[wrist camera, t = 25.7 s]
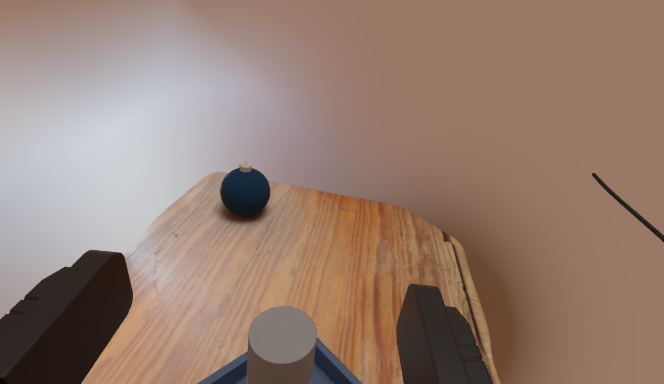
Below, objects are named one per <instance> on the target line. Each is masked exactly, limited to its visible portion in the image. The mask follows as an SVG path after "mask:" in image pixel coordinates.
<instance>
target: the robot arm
mask: <svg viewBox="0 0 664 384" xmlns="http://www.w3.org/2000/svg"><path fill="white" fill-rule="evenodd" d="M592 176H593V177H594V178H595V179H596V180H597V181H598V183H599V184H600V185H601V186H602V187H603V188H604V189H605V190H606V191H607V192H608V193H609V194H610V195H611V196H613V197H614V198H615V199H616V200H617V201H618V202H619V203H620V204H621V205H622V206H624V207H625V208H626V209H627V210H628V211H629V212H630V213H631V214H633V215H634V216H635V217H636V218H637V219H638V220H639V221H641V222H642V223H643V224H644V225H645V226H646V227H647V228H649V229H650V230H651V231H652V232H653V233H654V234H655V235H656V236H657V237H659V238H660V239H661V240H662V241H663V242H664V235H663V234H661V233H660V232H659V231H658V230H656V228H654V227H653V226H652V225H651V224H650V223H649V222H647V221H646V220H645V219H644V218H643V217H642V216H640V215H639V214H638V213H637V212H636V211H634V210H633V209H632V208H631V207H630V206H629V205H628V204H626V203H625V202H624V201H623V200H622V199H621V198H620V197H619V196H617V195H616V194H615V193H614V192H613V191H612V190H611V189H610V188H609V187H608V186H607V185H605V183H604V182H603V181H602V180H601V179H600V178H599V177H598V176H597V175H596V174H595V173H592ZM132 300H133V291H132V287H131V283H130V278H129V274H128V270H127V265H126V261H125V257H124V255H123V254H122V253H117V252H109V251H99V250H90V251H87V252H86V253H85V254H83V255H82V257H80V258H79V259H78V260H77V261H76V262H75V263H74V264H73V265H72V266H71V267H64V268H62V269H60V270H59V271H57V272H55V273H53V274H52V275H50V276H48V277H47V278H45V279H43V280H42V281H41V282H40V283H39V284H37V285H36V286H35V287H34V288H33V289H32V290H31V291H30V292H29V293H28V294H27V295H26V296H25V298H24V300H20V301H19V302H18V303H17V304H16V305H15V306H14V307H13V308H12V309H11V310H10V313H9V314H6V315H5V316H4V317H2V318H1V319H0V384H81V383H82V381H83V380H84V378H85V377H86V375H87V374H88V372H89V371H90V370H91V368H92V367H93V365H94V364H95V362H96V361H97V359H98V358H99V356H100V355H101V353H102V352H103V350H104V349H105V347H106V346H107V344H108V343H109V341H110V340H111V338H112V337H113V335H114V334H115V332H116V331H117V329H118V328H119V326H120V325H121V323H122V322H123V321H124V319H125V318H126V316H127V314H128V312H129V310H130V308H131V305H132ZM397 345H398V351H399V357H400V363H401V369H402V375H403V382H404V384H493V383H492V381H491V378H490V376H489V373H488V371H487V368H486V366H485V363H484V361H482V355H481V353H480V350H479V348H478V346H477V345H476V340H475V337H474V335H473V332H472V330H471V327H470V325H469V323H468V322H467V321H466V319H465V318H464V317H463V316H462V315H461V313H460V312H459V311H458V310H457V308H456V307H446V306H445V304H444V301H443V298H442V295H441V292H440V290H439V288H438V287H437V286H429V285H419V284H410V285H409V286H408V289H407V292H406V295H405V299H404V302H403V305H402V308H401V312H400V315H399V318H398V323H397Z"/></svg>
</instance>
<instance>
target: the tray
mask: <svg viewBox="0 0 664 384" xmlns="http://www.w3.org/2000/svg"><path fill="white" fill-rule="evenodd" d="M247 358H248V352H246V353H245V354H243V355H241V356H240V357H238V358H237V359H235V360H234V361H232V362H230V363H229V364H227V365H226V366H224V367H223V368H221V369H220V370H218V371H216V372H215V373H213V374H212V375H210V376H209V377H207V378H205V379H204V380H202V381H201V382H199V383H198V384H246V378H247ZM311 384H362V383H361V382H360V381H359V380H358V379H357V378H356V377H355V376H354V375H353V374H352V373H351V372H350V371H349V370H348V369H347V368H346V366H345V365H344V364H343V363H342V362H341V361H340V360H339V359H338V358H337V357H336V356H335V355H334V354H333V353H332V352H331V351H330V350H329V349H328V348H327V347H326V346H325V345H324V344H323V343H322V342H321V341H320V340H319V339H318V338H317V339H316V348H315V356H314V365H313V374H312V383H311Z"/></svg>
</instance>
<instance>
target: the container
mask: <svg viewBox="0 0 664 384" xmlns="http://www.w3.org/2000/svg"><path fill="white" fill-rule="evenodd" d="M316 339H317V330H316V327H315V324H314V322H313V321H312V319H311V318H310V317H309V316H308V315H307V314H306V313H304V312H303V311H301V310H299V309H296V308H293V307H287V306H281V307H274V308H271V309H268V310H266V311H264V312H262V313H261V314H260V315H259V316H257V317H256V319H255V320H254V321H253V323H252V324H251V327H250V329H249V337H248V358H247V378H246V384H311V383H312V374H313V365H314V356H315V348H316Z"/></svg>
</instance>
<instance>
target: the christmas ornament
mask: <svg viewBox="0 0 664 384" xmlns="http://www.w3.org/2000/svg"><path fill="white" fill-rule="evenodd" d="M251 166H252V165H251V164H250V163H241V164H240V168H238V169H235V170H233V171H231V172H230V173H229V174H227V176H226V177H225V178H224V180H223V182H222V184H221V188H220V195H221V199H222V202H223V203H224V205H225V206H226V207H227V209H229V210H230V211H231V212H233V213H235V214H237V215H242V216H248V215H253V214H256V213H258V212H259V211H261V210H262V209H263V208H264V207H265V206H266V204H267V202H268V200H269V197H270V186H269V183H268V181H267V179H266V178H265V176H264V175H263V174H262V173H261V172H259V171H257V170H255V169H252V168H251Z"/></svg>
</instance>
